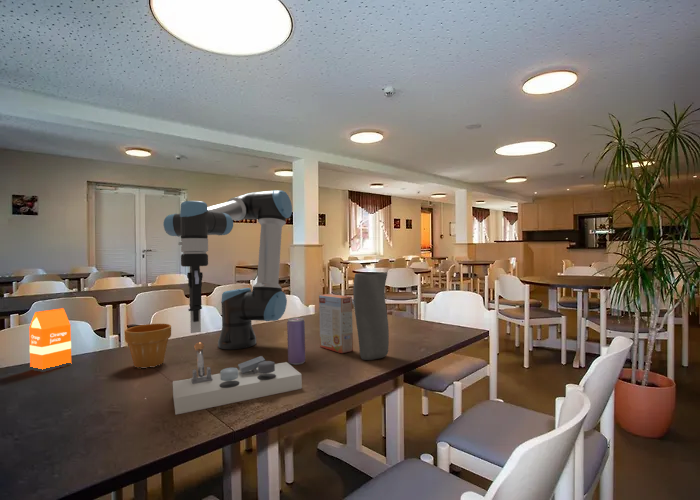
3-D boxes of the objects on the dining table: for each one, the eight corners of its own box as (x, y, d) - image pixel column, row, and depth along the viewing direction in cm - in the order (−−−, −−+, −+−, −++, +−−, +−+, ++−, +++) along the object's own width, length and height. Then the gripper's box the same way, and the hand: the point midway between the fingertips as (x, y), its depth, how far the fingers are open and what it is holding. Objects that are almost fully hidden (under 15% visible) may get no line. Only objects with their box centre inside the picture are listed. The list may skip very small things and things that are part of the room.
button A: (256, 369, 103) (256, 362, 103) (272, 367, 105) (272, 360, 105) (260, 374, 99) (260, 367, 99) (276, 371, 101) (276, 364, 101)
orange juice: (71, 365, 130) (70, 308, 130) (42, 373, 122) (40, 312, 122) (59, 362, 133) (57, 307, 133) (29, 370, 125) (28, 311, 125)
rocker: (238, 369, 107) (237, 364, 107) (262, 360, 110) (261, 355, 110) (242, 373, 103) (241, 368, 103) (266, 364, 106) (265, 359, 106)
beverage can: (302, 365, 124) (301, 320, 124) (285, 364, 125) (284, 320, 125) (307, 360, 130) (306, 317, 130) (291, 359, 131) (290, 317, 131)
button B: (219, 376, 98) (219, 369, 98) (236, 373, 100) (236, 366, 100) (221, 382, 94) (221, 374, 94) (239, 378, 96) (239, 371, 96)
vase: (364, 364, 123) (362, 274, 123) (349, 355, 134) (347, 273, 134) (396, 359, 128) (394, 273, 128) (379, 351, 139) (377, 271, 139)
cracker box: (354, 351, 140) (352, 296, 140) (341, 354, 136) (340, 297, 136) (331, 344, 151) (330, 293, 151) (319, 347, 147) (318, 294, 147)
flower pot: (178, 363, 129) (177, 326, 129) (133, 374, 118) (132, 334, 118) (163, 356, 138) (162, 321, 138) (119, 365, 128) (119, 328, 128)
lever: (196, 379, 100) (193, 344, 105) (206, 377, 102) (203, 343, 107) (196, 376, 98) (194, 341, 103) (207, 374, 100) (204, 340, 105)
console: (173, 396, 100) (172, 370, 100) (287, 374, 115) (286, 352, 115) (175, 414, 88) (174, 385, 88) (301, 388, 103) (301, 363, 103)
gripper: (179, 253, 114) (180, 329, 114) (182, 253, 103) (183, 337, 103) (205, 253, 118) (206, 327, 118) (210, 252, 106) (212, 334, 106)
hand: (195, 332), depth 110 cm, fingers closed
